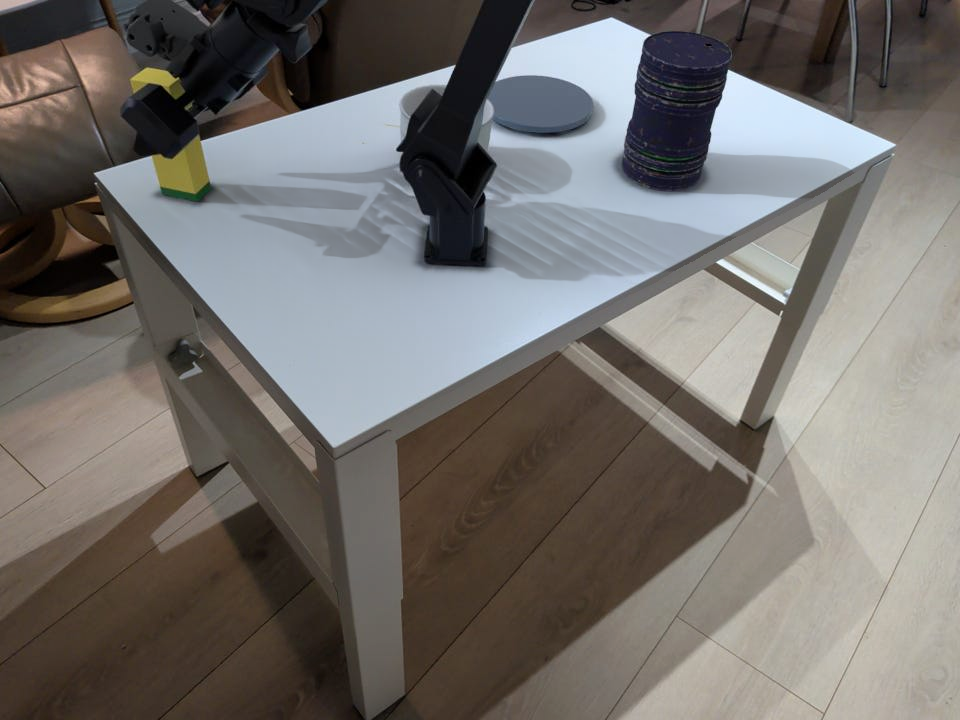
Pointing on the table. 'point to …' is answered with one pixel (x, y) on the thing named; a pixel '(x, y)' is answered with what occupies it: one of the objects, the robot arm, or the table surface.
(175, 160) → the yellow green tall block
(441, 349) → the table surface
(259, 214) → the table surface
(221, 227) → the table surface
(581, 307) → the table surface
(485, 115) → the teacup
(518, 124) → the plate
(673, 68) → the dark purple barrel
